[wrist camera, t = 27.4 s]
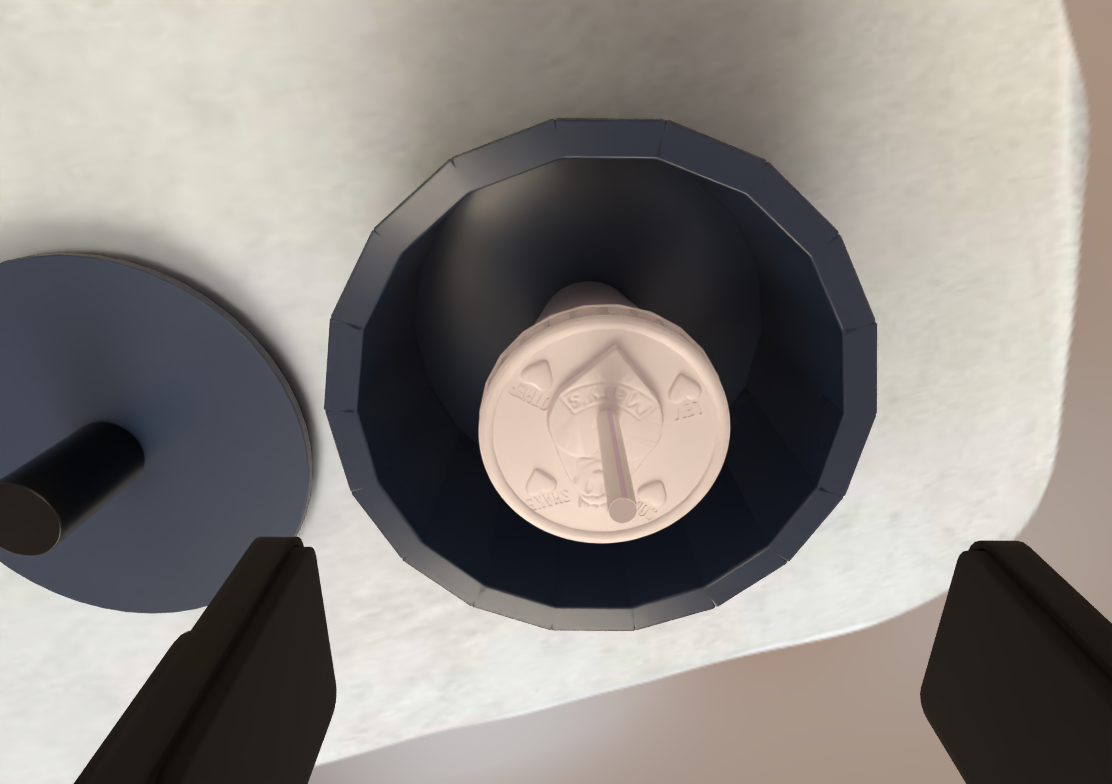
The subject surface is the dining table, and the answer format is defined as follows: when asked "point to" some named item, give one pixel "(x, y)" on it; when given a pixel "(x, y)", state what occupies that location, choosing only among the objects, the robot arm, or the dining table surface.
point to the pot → (651, 284)
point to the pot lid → (137, 435)
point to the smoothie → (602, 419)
